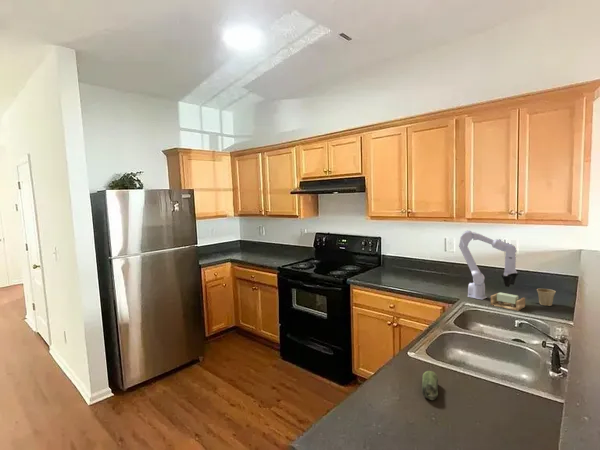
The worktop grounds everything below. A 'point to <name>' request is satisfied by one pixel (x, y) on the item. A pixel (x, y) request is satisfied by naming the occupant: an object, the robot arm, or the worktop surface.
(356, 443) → the worktop surface
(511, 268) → the robot arm
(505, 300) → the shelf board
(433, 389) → the vegetable
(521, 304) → the peg cradle
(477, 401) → the worktop surface
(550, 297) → the flower pot
